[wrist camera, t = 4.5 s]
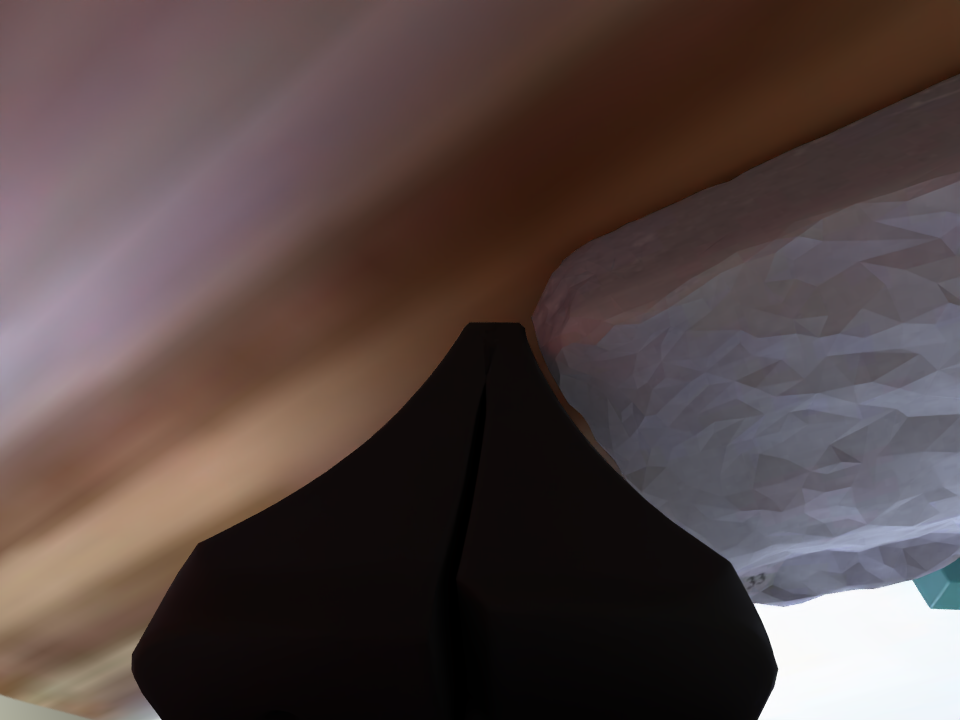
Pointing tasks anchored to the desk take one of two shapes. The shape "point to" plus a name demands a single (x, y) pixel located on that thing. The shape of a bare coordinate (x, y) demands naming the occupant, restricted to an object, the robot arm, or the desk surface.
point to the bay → (941, 587)
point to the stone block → (787, 356)
